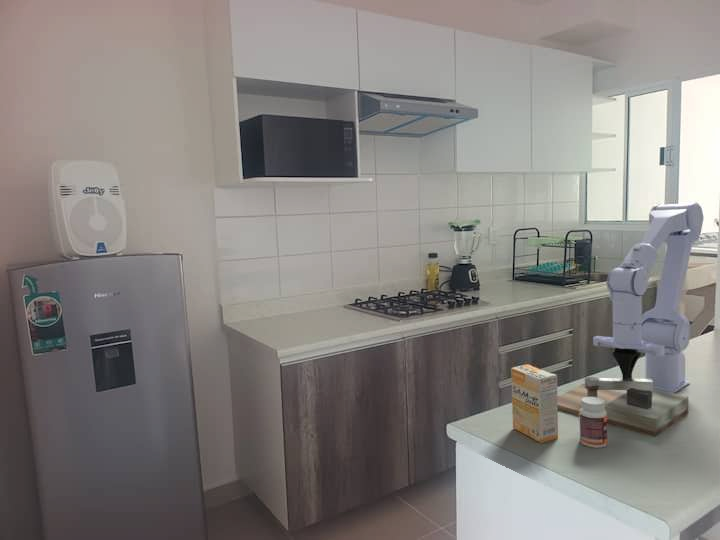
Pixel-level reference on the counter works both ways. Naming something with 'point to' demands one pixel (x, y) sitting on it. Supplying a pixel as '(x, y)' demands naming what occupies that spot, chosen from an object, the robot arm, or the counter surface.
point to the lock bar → (618, 384)
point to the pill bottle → (593, 422)
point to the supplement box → (535, 402)
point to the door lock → (632, 407)
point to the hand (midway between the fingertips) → (627, 381)
